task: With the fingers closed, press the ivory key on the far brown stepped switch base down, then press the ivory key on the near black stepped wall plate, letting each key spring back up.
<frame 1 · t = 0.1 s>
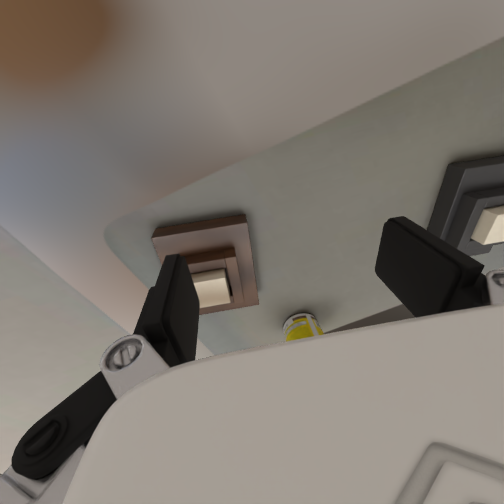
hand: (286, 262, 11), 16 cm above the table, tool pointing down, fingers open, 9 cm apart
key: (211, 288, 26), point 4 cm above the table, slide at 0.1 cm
stepped wall plate: (462, 208, 30), on the table
supplement bottle: (299, 322, 38), on the table
brown stepped switch base: (212, 264, 29), on the table
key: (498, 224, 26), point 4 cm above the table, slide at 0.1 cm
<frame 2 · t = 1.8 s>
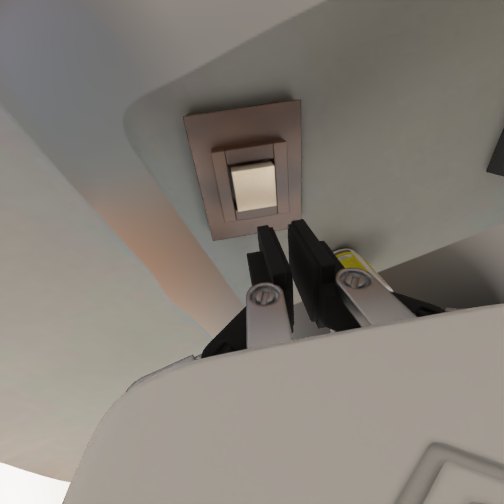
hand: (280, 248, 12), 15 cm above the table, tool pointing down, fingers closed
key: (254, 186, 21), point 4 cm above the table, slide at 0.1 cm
supplement bottle: (338, 262, 33), on the table
brown stepped switch base: (248, 174, 25), on the table
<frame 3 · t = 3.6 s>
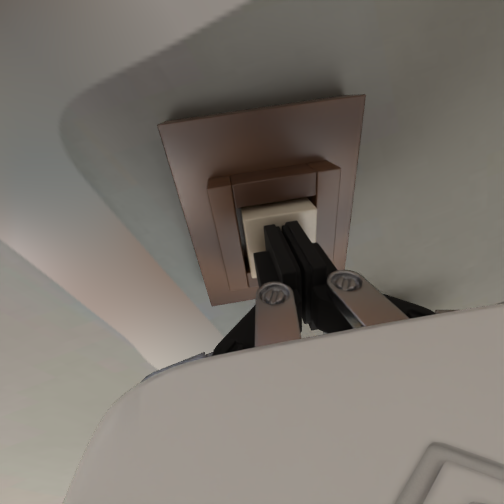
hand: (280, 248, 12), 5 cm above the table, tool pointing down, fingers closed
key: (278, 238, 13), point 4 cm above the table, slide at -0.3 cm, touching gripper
brown stepped switch base: (266, 209, 16), on the table
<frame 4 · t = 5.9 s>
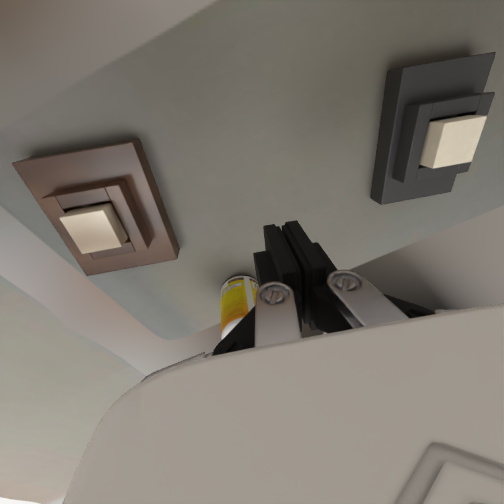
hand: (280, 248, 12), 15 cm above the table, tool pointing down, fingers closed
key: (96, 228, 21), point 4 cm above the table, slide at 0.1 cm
stepped wall plate: (414, 136, 24), on the table
supplement bottle: (240, 288, 33), on the table
brown stepped switch base: (114, 209, 25), on the table
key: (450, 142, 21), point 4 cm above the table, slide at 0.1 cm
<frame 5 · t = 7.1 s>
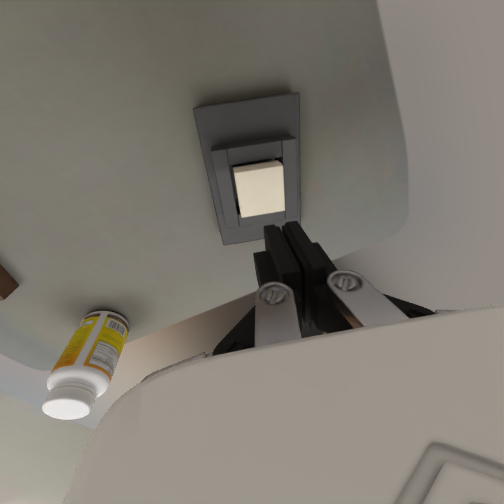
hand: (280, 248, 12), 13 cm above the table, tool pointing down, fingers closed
stepped wall plate: (252, 174, 22), on the table
supplement bottle: (108, 322, 31), on the table
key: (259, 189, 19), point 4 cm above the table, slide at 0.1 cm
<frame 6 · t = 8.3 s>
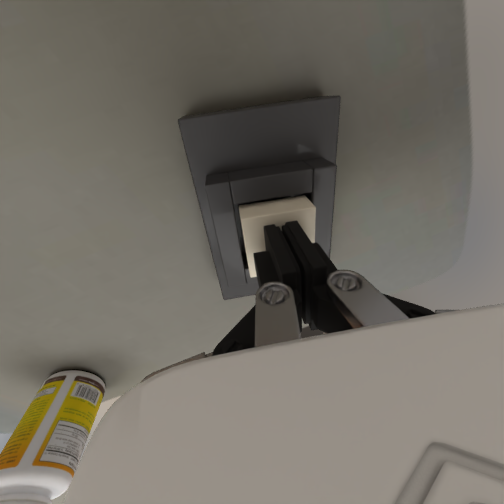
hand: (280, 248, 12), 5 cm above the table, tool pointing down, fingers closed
stepped wall plate: (264, 206, 16), on the table
supplement bottle: (79, 381, 25), on the table
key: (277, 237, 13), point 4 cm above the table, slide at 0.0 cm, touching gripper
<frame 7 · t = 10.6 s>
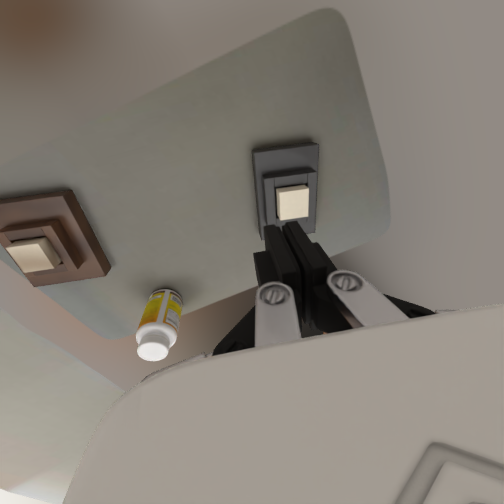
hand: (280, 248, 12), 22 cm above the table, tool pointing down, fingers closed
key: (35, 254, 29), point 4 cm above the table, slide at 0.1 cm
stepped wall plate: (283, 191, 33), on the table
supplement bottle: (166, 299, 41), on the table
brown stepped switch base: (56, 237, 33), on the table
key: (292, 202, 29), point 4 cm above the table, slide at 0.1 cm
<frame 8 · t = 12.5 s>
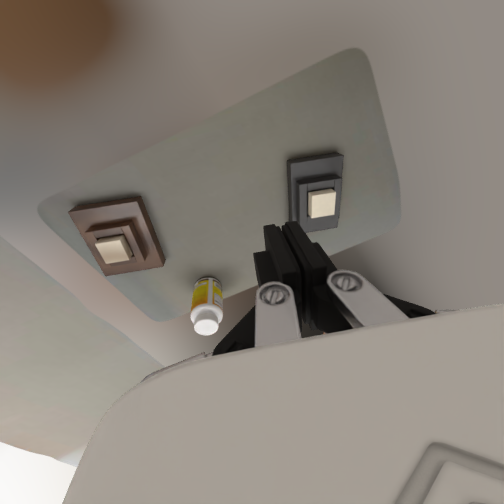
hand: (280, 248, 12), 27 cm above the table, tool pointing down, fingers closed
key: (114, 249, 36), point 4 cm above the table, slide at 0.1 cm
stepped wall plate: (311, 193, 40), on the table
supplement bottle: (208, 286, 48), on the table
brown stepped switch base: (124, 235, 40), on the table
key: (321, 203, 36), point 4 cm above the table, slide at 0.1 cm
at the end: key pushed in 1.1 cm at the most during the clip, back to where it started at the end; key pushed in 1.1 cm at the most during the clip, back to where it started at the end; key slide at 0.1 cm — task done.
